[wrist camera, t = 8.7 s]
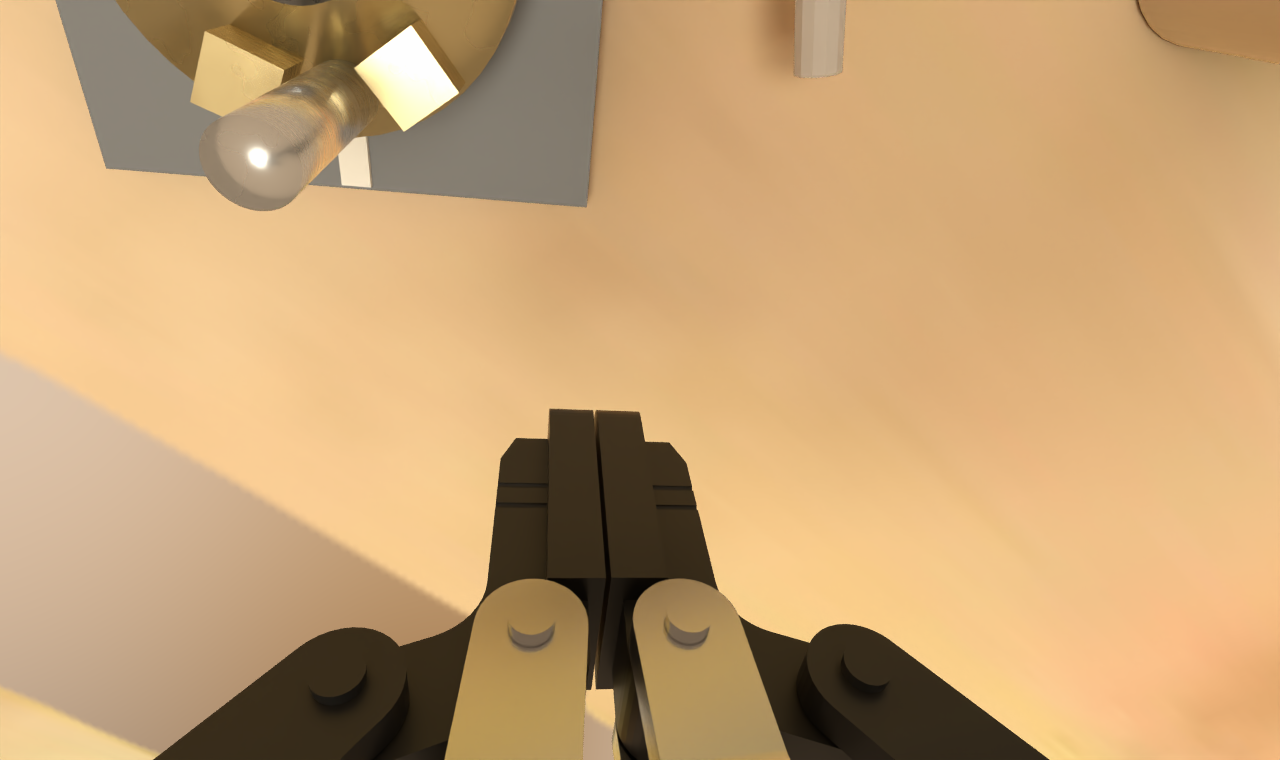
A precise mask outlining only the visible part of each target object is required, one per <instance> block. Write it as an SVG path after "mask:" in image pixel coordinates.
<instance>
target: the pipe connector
mask: <svg viewBox="0 0 1280 760" xmlns="http://www.w3.org/2000/svg"><path fill="white" fill-rule="evenodd" d="M845 15H846V0H795V29H794V76H796V77H800V78H819V77H828V76H833V75H837V74H839V73H841V72H842V68H843V50H844V33H845Z"/></svg>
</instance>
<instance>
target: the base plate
mask: <svg viewBox="0 0 1280 760" xmlns="http://www.w3.org/2000/svg"><path fill="white" fill-rule="evenodd" d="M56 4H57V7H58V10H59V14H60V17H61V20H62V23H63V27H64V30H65V33H66V37H67V40H68V43H69V47H70V50H71V53H72V57H73V60H74V63H75V66H76V70H77V73H78V76H79V80H80V83H81V86H82V90H83V93H84V96H85V100H86V103H87V106H88V109H89V113H90V116H91V119H92V123H93V126H94V129H95V133H96V136H97V139H98V143H99V146H100V149H101V152H102V156H103V159H104V162H105V166H106V168H108V169H120V170H132V171H145V172H157V173H169V174H182V175H194V176H206V175H205V173H204V171H203V169H202V166H201V163H200V158H199V143H200V139H201V136H202V134H203V132H204V131H205V129H206V128H207V127H208V126H209V125H210V124H211V123H212V122H214V121H216V120H217V119H219V118H221V117H222V116H220V115H217V114H215V113H213V112H211V111H209V110H206V109H204V108H202V107H200V106H198V105H195V104H193V103H191V102H190V100H191V95H192V90H193V85H194V81H193V80H191V79H190V78H189V77H188V76H186V75H185V74H184V73H183V72H182V71H180V70H179V69H178V68H177V67H175V66H174V65H173V64H172V63H170V62H169V61H168V60H167V59H166V58H165V57H164V56H163V55H162V54H161V53H160V52H159V51H158V50H157V49H156V48H155V47H154V46H153V45H152V44H151V43H150V42H149V41H148V40H147V39H146V38H145V37H144V36H143V34H142V33H141V32H140V31H139V30H138V29H137V27H136V26H135V25H134V24H133V23H132V21H131V20H130V19H129V18H128V17H127V16H126V14H125V13H124V12H123V11H122V9H121V8H120V6H119V5H118V4H117V2H116V1H115V0H56ZM602 4H603V0H517V3H516V6H515V9H514V12H513V15H512V18H511V21H510V23H509V25H508V27H507V29H506V31H505V33H504V35H503V37H502V39H501V42H500V43H499V45H498V47H497V49H496V51H495V53H494V54H493V56H492V57H491V59H490V60H489V62H488V63H487V65H486V66H485V68H484V69H483V71H482V72H481V74H480V75H479V76H478V77H477V78H476V79H475V81H474V82H473V83H472V84H471V85H470V86H469V87H468V88H467V89H466V91H465V92H464V93H463V94H461V95H460V96H459V97H458V98H456V99H455V100H454V101H453V102H452V103H450V104H449V105H448V106H447V107H446V108H444V109H442V110H441V111H439V112H437V113H436V114H434V115H432V116H431V117H429V118H427V119H426V120H424V121H421V122H419V123H416V124H414V125H413V126H411V127H410V128H409V129H407V130H406V131H403V130H398V131H394V132H390V133H386V134H382V135H376V136H366V137H357V138H354V139H353V140H352V141H351V142H350V143H349V144H348V145H347V146H346V147H345V148H344V149H343V150H342V151H341V152H340V153H339V154H338V155H337V156H336V157H335V158H334V159H333V160H332V161H331V162H330V163H329V164H328V165H327V166H326V167H325V168H324V169H323V170H322V171H321V172H320V173H319V174H318V175H317V176H316V177H315V178H314V179H313V180H312V181H311V182H310V183H309V184H308V185H317V186H330V187H342V188H354V189H367V190H379V191H391V192H404V193H416V194H428V195H441V196H453V197H465V198H478V199H490V200H502V201H515V202H527V203H539V204H552V205H564V206H576V207H587V198H588V185H589V172H590V159H591V146H592V133H593V120H594V107H595V94H596V81H597V68H598V55H599V43H600V30H601V17H602Z"/></svg>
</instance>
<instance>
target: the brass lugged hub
mask: <svg viewBox="0 0 1280 760" xmlns="http://www.w3.org/2000/svg"><path fill="white" fill-rule="evenodd" d="M115 1H116V2H117V4H118V5H119V6H120V8H121V9H122V11H123V12H124V13H125V14H126V16H127V17H128V18H129V19H130V20H131V21H132V23H133V24H134V25H135V26H136V27H137V29H138V30H139V31H140V32H141V33H142V34H143V36H144V37H145V38H146V39H147V40H148V41H149V42H150V43H151V44H152V45H153V46H154V47H155V48H156V49H157V50H158V51H159V52H160V53H161V54H162V55H163V56H164V57H165V58H166V59H167V60H168V61H169V62H170V63H172V64H173V65H174V66H175V67H177V68H178V69H179V70H180V71H182V72H183V73H184V74H185V75H186V76H188V77H189V78H190V79H191V80H193V81H194V85H193V90H192V95H191V100H190V102H191V103H193V104H195V105H198V106H200V107H202V108H204V109H206V110H209V111H211V112H213V113H215V114H217V115H220V116H222V117H221V118H219V119H217V120H216V121H214V122H212V123H211V124H210V125H209V126H208V127H207V128H206V129H205V131H204V132H203V134H202V136H201V139H200V143H199V158H200V163H201V166H202V169H203V171H204V173H205V175H206V177H207V178H208V180H209V181H210V183H211V184H212V185H213V186H214V187H215V189H216V190H217V191H218V192H219V193H221V194H222V195H223V196H224V197H226V198H227V199H228V200H230V201H232V202H233V203H235V204H237V205H239V206H242V207H244V208H247V209H251V210H257V211H271V210H276V209H279V208H282V207H284V206H286V205H287V204H289V203H290V202H291V201H292V200H293V199H294V198H295V197H296V196H297V195H298V194H299V193H300V192H301V191H302V190H303V189H304V188H305V187H306V186H307V185H308V184H309V183H310V182H311V181H312V180H313V179H314V178H315V177H316V176H317V175H318V174H319V173H320V172H321V171H322V170H323V169H324V168H325V167H326V166H327V165H328V164H329V163H330V162H331V161H332V160H333V159H334V158H335V157H336V156H337V155H338V154H339V153H340V152H341V151H342V150H343V149H344V148H345V147H346V146H347V145H348V144H349V143H350V142H351V141H352V140H353V139H354V138H357V137H366V136H376V135H382V134H386V133H390V132H394V131H398V130H403V131H406V130H407V129H409V128H410V127H411V126H413V125H414V124H416V123H419V122H421V121H424V120H426V119H427V118H429V117H431V116H432V115H434V114H436V113H437V112H439V111H441V110H442V109H444V108H446V107H447V106H448V105H449V104H450V103H452V102H453V101H454V100H455V99H456V98H458V97H459V96H460V95H461V94H463V93H464V92H465V91H466V89H467V88H468V87H469V86H470V85H471V84H472V83H473V82H474V81H475V79H476V78H477V77H478V76H479V75H480V74H481V72H482V71H483V69H484V68H485V66H486V65H487V63H488V62H489V60H490V59H491V57H492V56H493V54H494V53H495V51H496V49H497V47H498V45H499V43H500V42H501V39H502V37H503V35H504V33H505V31H506V29H507V27H508V25H509V23H510V21H511V18H512V15H513V12H514V9H515V6H516V3H517V0H115Z"/></svg>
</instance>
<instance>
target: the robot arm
mask: <svg viewBox="0 0 1280 760" xmlns="http://www.w3.org/2000/svg"><path fill="white" fill-rule="evenodd" d="M1138 1H1139V5H1140V9H1141V12H1142V14H1143V15H1144V17H1145V19H1146V21H1147V23H1148V24H1149V26H1150V27H1151V28H1152V29H1153V30H1154V31H1155V32H1156V33H1157V34H1158V35H1159V36H1160V37H1161V38H1162V39H1165V40H1167V41H1169V42H1171V43H1174V44H1176V45H1178V46H1184V47H1189V48H1195V49H1200V50H1206V51H1212V52H1217V53H1223V54H1228V55H1234V56H1240V57H1245V58H1249V59H1254V60H1259V61H1264V62H1270V63H1276V64H1280V0H1138ZM696 506H697V505H696V501H695V497H694V493H693V491H692V484H691V480H690V476H689V472H688V468H687V464H686V462H685V461H684V460H683V459H682V457H681V456H680V455H679V454H678V453H677V451H676V450H675V449H674V448H673V447H672V445H671V444H670V443H667V442H645V439H644V434H643V428H642V422H641V417H640V413H639V412H629V411H602V410H596V412H595V416H594V414H593V410H570V409H549V424H548V439H527V438H516V439H515V440H514V442H513V443H512V444H511V446H510V447H509V448H508V450H507V451H506V452H505V454H504V455H503V456H502V457H501V461H500V470H499V479H498V489H497V498H496V508H495V516H494V526H493V535H492V544H491V554H490V563H489V572H488V581H487V587H486V591H485V593H484V596H483V598H482V600H481V602H480V603H479V605H478V607H477V608H476V609H475V610H474V611H473V612H472V614H471V615H470V616H468V617H467V618H466V619H465V620H464V621H463V622H461V623H460V624H458V625H457V626H455V627H454V628H452V629H450V630H448V631H446V632H444V633H441V634H439V635H436V636H433V637H430V638H426V639H423V640H420V641H416V642H413V643H410V644H406V645H403V646H400V647H399V646H398V645H397V644H396V642H394V641H393V640H392V639H391V638H390V637H388V636H387V635H385V634H383V633H381V632H378V631H376V630H373V629H367V628H355V627H352V628H343V629H339V630H334V631H330V632H327V633H325V634H322V635H319V636H317V637H315V638H313V639H311V640H310V641H308V642H306V643H305V644H303V645H302V646H300V647H299V648H298V649H296V650H295V651H294V652H292V653H291V654H290V655H288V656H287V657H286V658H285V659H283V660H282V661H281V662H279V663H278V664H277V665H275V666H274V667H273V668H272V669H270V670H269V671H268V672H266V673H265V674H264V675H263V676H261V677H260V678H259V679H257V680H256V681H255V682H254V683H252V684H251V685H250V686H248V687H247V688H246V689H244V690H243V691H242V692H241V693H239V694H238V695H237V696H235V697H234V698H233V699H232V700H230V701H229V702H227V703H226V704H225V705H224V706H222V707H221V708H220V709H219V710H217V711H216V712H215V713H213V714H212V715H211V716H209V717H208V718H207V719H205V720H204V721H203V722H202V723H200V724H199V725H198V726H196V727H195V728H194V729H192V730H191V731H190V732H189V733H187V734H186V735H185V736H183V737H182V738H181V739H179V740H178V741H177V742H176V743H174V744H173V745H172V746H170V747H169V748H168V749H167V750H165V751H164V752H163V753H161V754H160V755H159V756H157V757H156V758H155V759H154V760H583V739H584V717H585V696H586V690H591V687H592V680H593V672H594V665H595V682H596V689H613V690H614V704H615V723H614V729H613V735H612V749H613V755H614V760H1049V759H1048V758H1046V757H1045V756H1044V755H1042V754H1041V753H1040V752H1038V751H1037V750H1036V749H1034V748H1033V747H1032V746H1030V745H1029V744H1028V743H1026V742H1025V741H1024V740H1022V739H1021V738H1020V737H1018V736H1017V735H1016V734H1014V733H1013V732H1012V731H1010V730H1009V729H1008V728H1006V727H1005V726H1004V725H1002V724H1001V723H1000V722H998V721H997V720H996V719H994V718H993V717H992V716H990V715H989V714H988V713H986V712H985V711H984V710H982V709H981V708H980V707H978V706H977V705H976V704H974V703H973V702H972V701H970V700H969V699H968V698H966V697H965V696H964V695H962V694H961V693H960V692H958V691H957V690H956V689H954V688H953V687H952V686H950V685H949V684H948V683H946V682H945V681H944V680H942V679H941V678H940V677H938V676H937V675H936V674H934V673H933V672H932V671H930V670H929V669H928V668H926V667H925V666H924V665H922V664H921V663H920V662H918V661H917V660H916V659H914V658H913V657H912V656H910V655H909V654H908V653H906V652H905V651H904V650H902V649H901V648H900V647H898V646H897V645H896V644H894V643H893V642H892V641H890V640H889V639H887V638H886V637H884V636H883V635H881V634H879V633H877V632H875V631H873V630H870V629H868V628H865V627H861V626H857V625H850V624H838V625H833V626H829V627H827V628H825V629H822V630H821V631H820V632H818V633H817V634H816V635H815V636H814V637H813V639H812V640H811V642H810V643H808V642H805V641H801V640H798V639H794V638H791V637H787V636H784V635H780V634H776V633H773V632H770V631H767V630H764V629H761V628H759V627H757V626H755V625H753V624H751V623H749V622H748V621H746V620H744V619H743V618H741V617H740V616H739V615H738V614H737V611H736V609H735V608H734V607H733V605H732V604H731V602H730V601H729V600H728V599H727V598H726V597H725V596H724V595H723V594H721V593H720V592H719V590H718V588H717V585H716V582H715V578H714V574H713V570H712V566H711V562H710V558H709V554H708V550H707V546H706V541H705V537H704V533H703V529H702V525H701V521H700V517H699V513H698V510H697V509H696Z"/></svg>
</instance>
